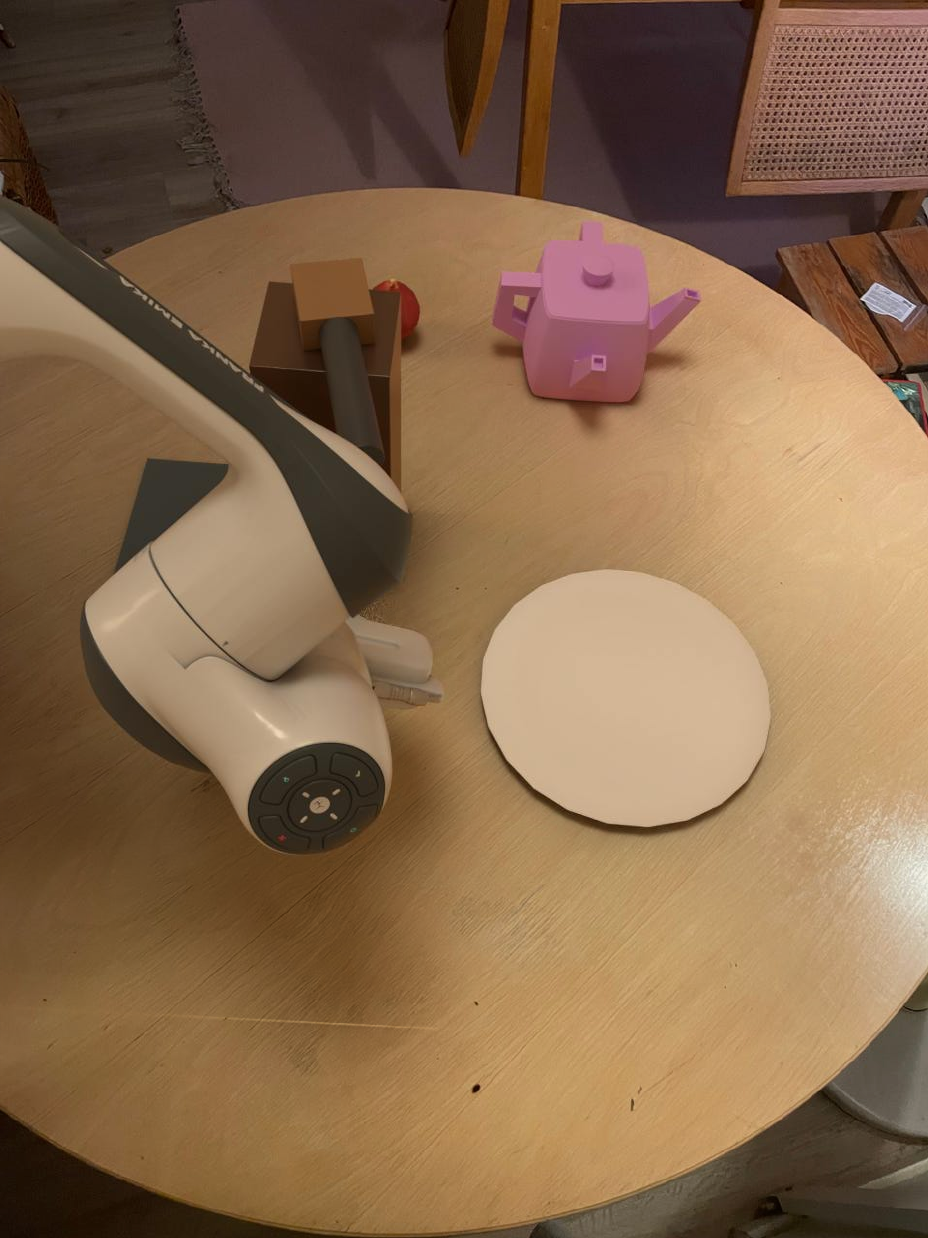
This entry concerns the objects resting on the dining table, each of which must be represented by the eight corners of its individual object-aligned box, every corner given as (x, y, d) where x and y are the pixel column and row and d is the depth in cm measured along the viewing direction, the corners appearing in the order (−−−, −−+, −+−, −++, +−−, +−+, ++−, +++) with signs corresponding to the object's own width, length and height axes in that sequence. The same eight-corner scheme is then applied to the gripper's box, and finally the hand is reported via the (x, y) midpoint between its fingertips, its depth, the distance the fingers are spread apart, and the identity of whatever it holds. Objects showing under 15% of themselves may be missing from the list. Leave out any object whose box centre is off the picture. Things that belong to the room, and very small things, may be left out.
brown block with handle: (403, 469, 69) (403, 441, 66) (324, 479, 68) (322, 450, 66) (362, 287, 78) (361, 257, 76) (293, 294, 77) (290, 263, 75)
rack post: (283, 575, 95) (248, 365, 73) (297, 498, 100) (268, 280, 78) (392, 583, 95) (389, 376, 73) (401, 506, 100) (401, 291, 78)
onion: (354, 335, 112) (351, 274, 106) (395, 312, 115) (395, 251, 108) (388, 364, 110) (387, 305, 103) (430, 341, 112) (431, 281, 106)
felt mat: (98, 637, 91) (96, 632, 90) (148, 463, 101) (147, 457, 101) (236, 647, 91) (234, 643, 90) (271, 472, 102) (270, 467, 101)
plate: (595, 892, 81) (599, 885, 79) (424, 656, 91) (424, 646, 90) (826, 737, 89) (833, 728, 88) (644, 537, 100) (648, 526, 98)
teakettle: (576, 282, 119) (593, 187, 108) (690, 363, 113) (720, 270, 102) (469, 351, 112) (476, 256, 101) (584, 440, 106) (604, 349, 95)
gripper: (464, 664, 68) (425, 594, 80) (144, 595, 62) (156, 530, 74) (435, 748, 70) (401, 667, 82) (122, 689, 63) (137, 611, 76)
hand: (283, 602), depth 78 cm, fingers open, 8 cm apart
